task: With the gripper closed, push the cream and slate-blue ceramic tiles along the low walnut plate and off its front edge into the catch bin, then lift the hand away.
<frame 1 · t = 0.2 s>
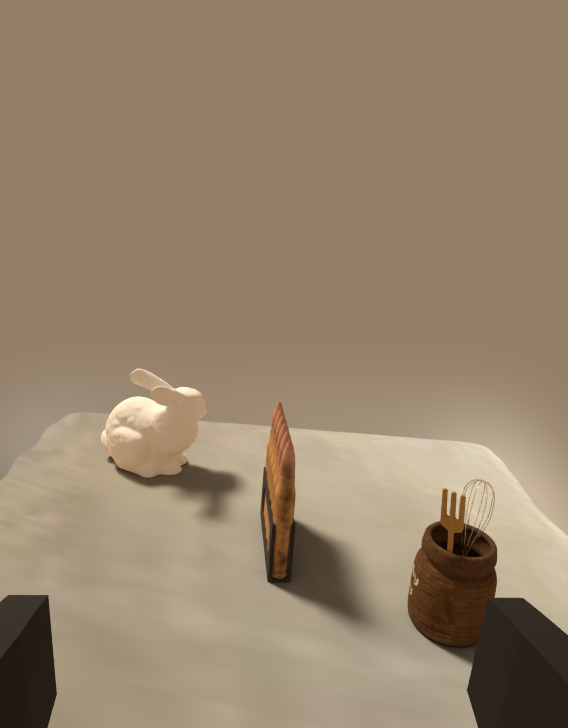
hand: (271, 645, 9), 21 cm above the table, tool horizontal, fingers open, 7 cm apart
utensil holder: (444, 623, 40), on the table
ammunition clip: (273, 545, 48), on the table
rabbit: (156, 468, 61), on the table
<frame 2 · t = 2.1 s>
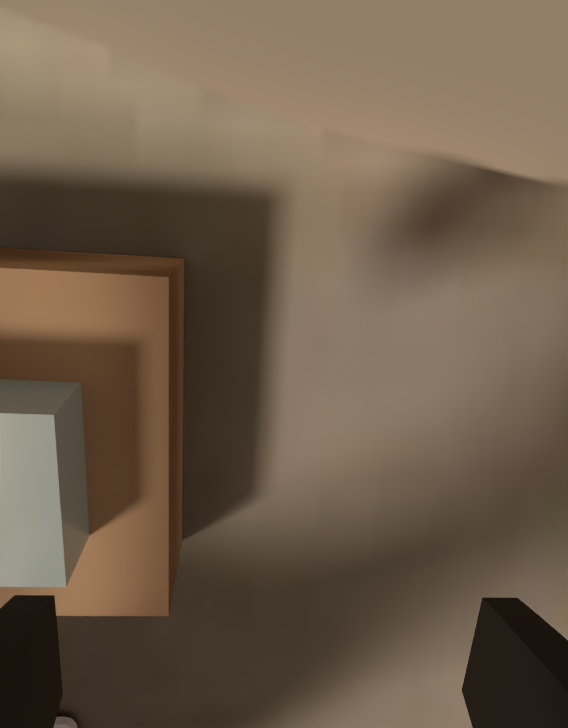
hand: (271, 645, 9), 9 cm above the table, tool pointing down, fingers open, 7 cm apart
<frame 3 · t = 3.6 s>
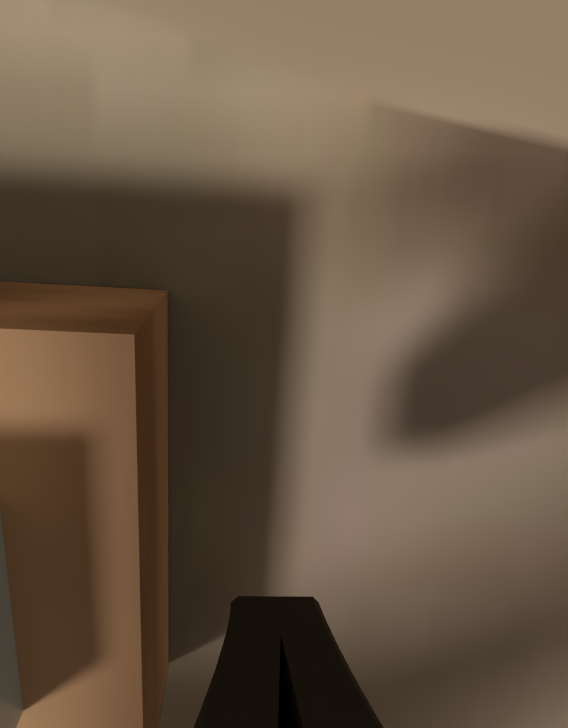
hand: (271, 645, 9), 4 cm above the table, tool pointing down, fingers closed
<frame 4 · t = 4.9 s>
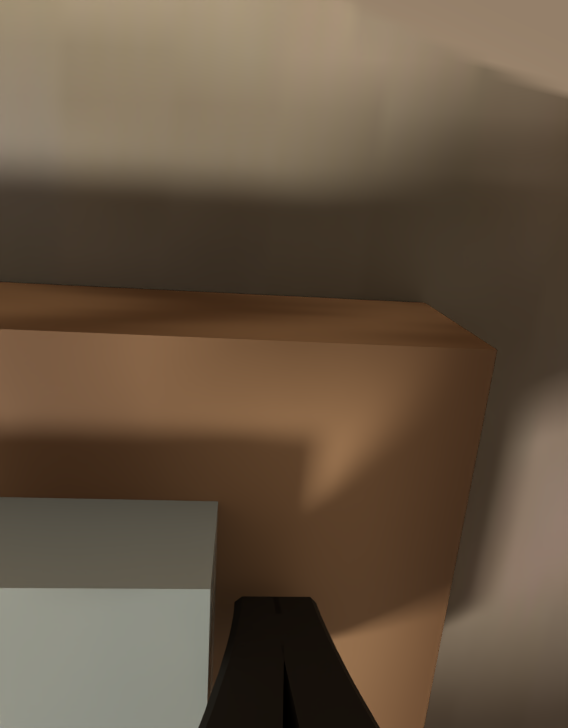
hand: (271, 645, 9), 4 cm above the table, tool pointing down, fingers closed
walnut plate: (145, 500, 13), on the table
tile slate: (83, 612, 9), point 4 cm above the table, touching gripper
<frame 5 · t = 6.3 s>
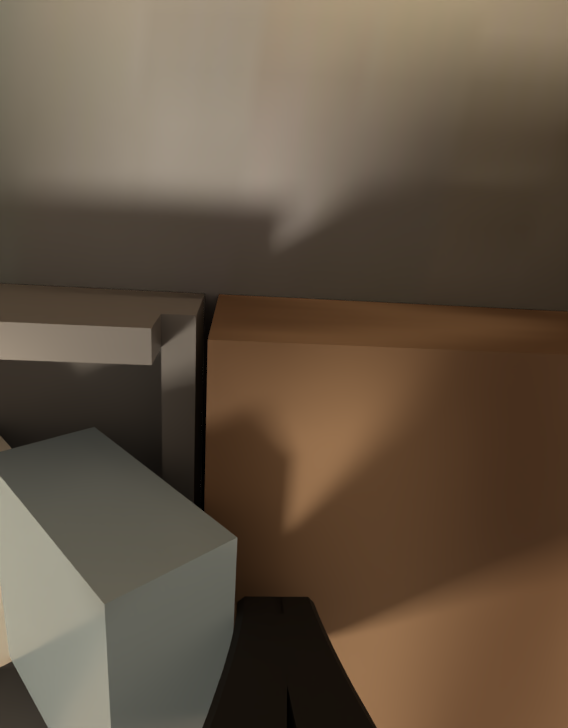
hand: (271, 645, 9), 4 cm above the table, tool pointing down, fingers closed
walnut plate: (458, 506, 13), on the table
catch bin: (26, 499, 12), on the table
tile slate: (155, 580, 10), point 3 cm above the table, tilted 50°, touching gripper, tile cream
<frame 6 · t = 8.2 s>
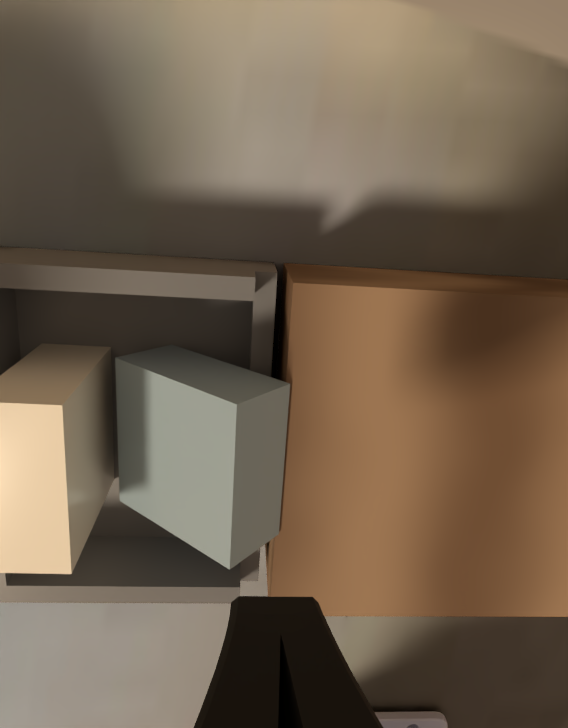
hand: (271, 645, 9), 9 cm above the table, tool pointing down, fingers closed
walnut plate: (449, 420, 18), on the table
catch bin: (141, 410, 17), on the table
tile slate: (223, 435, 16), point 2 cm above the table, tilted 42°, touching catch bin, walnut plate
tile cream: (93, 449, 15), point 3 cm above the table, tilted 90°, touching catch bin
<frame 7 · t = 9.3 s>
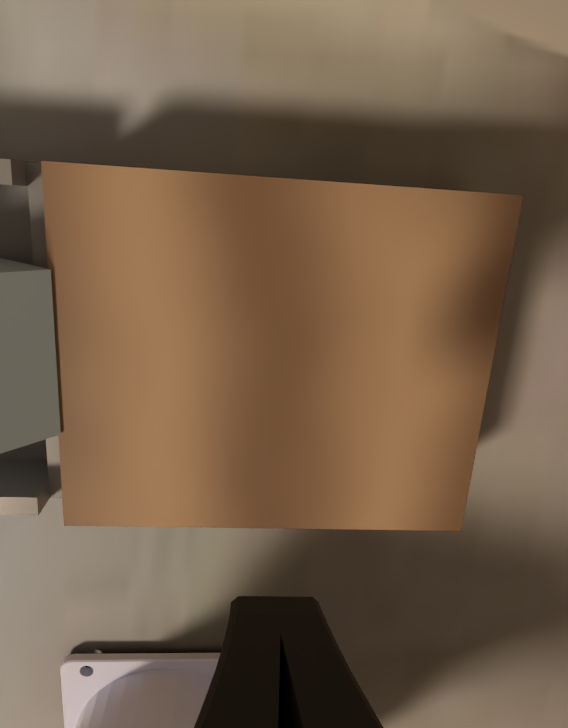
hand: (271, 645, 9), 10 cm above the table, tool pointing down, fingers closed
walnut plate: (272, 338, 18), on the table
tile slate: (12, 338, 15), point 2 cm above the table, tilted 42°, touching catch bin, walnut plate
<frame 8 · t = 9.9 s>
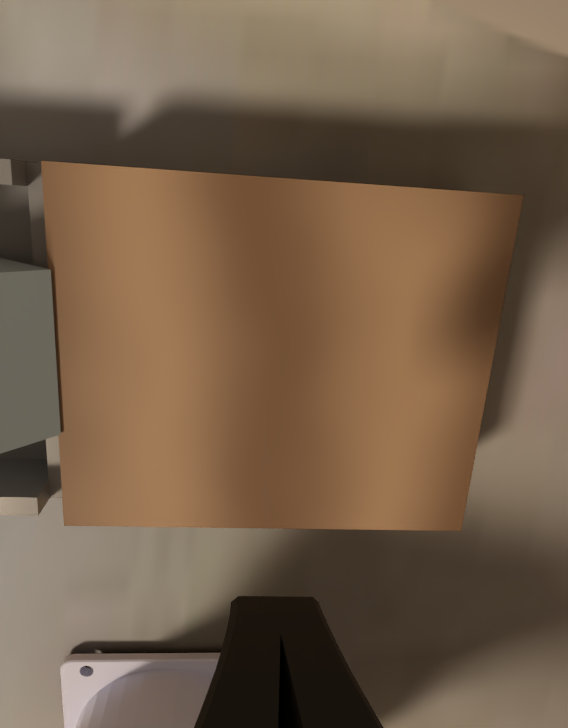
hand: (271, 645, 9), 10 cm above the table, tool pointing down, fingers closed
walnut plate: (272, 338, 18), on the table
tile slate: (12, 338, 15), point 2 cm above the table, tilted 42°, touching catch bin, walnut plate
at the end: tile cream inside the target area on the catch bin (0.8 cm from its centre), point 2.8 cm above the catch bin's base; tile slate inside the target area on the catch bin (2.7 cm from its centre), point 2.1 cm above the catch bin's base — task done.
